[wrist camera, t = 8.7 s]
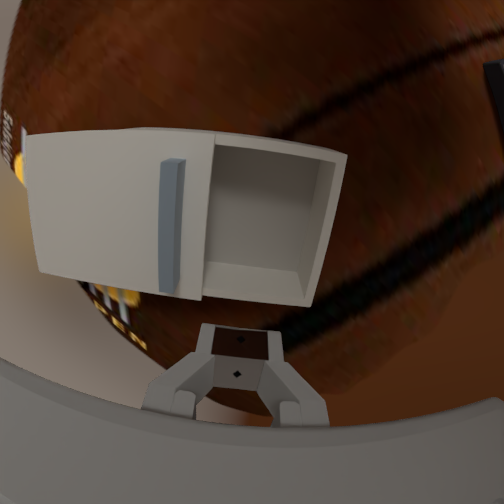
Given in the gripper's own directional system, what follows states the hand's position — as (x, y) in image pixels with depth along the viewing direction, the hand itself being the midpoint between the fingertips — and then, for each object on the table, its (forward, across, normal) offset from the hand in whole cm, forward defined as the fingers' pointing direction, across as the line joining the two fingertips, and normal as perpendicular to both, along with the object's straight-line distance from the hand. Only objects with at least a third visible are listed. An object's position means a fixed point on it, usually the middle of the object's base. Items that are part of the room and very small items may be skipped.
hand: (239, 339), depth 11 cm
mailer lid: (+13, +12, +1) cm, 18 cm away
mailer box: (+19, +2, +1) cm, 19 cm away
